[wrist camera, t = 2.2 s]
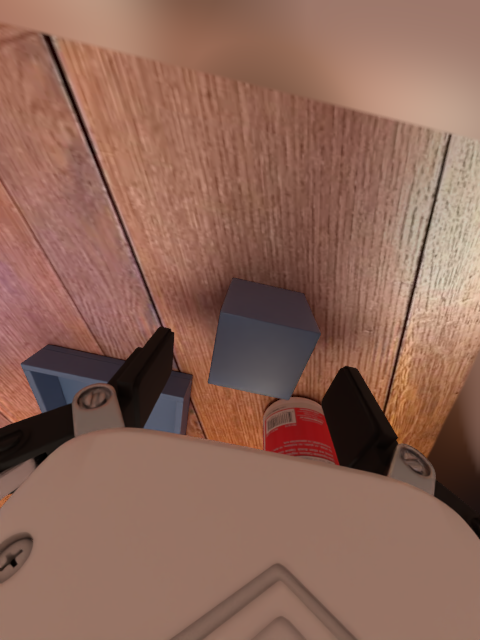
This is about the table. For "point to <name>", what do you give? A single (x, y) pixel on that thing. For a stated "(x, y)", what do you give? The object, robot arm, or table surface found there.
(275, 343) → the block
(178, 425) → the block tray
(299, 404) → the pill bottle
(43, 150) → the table surface
